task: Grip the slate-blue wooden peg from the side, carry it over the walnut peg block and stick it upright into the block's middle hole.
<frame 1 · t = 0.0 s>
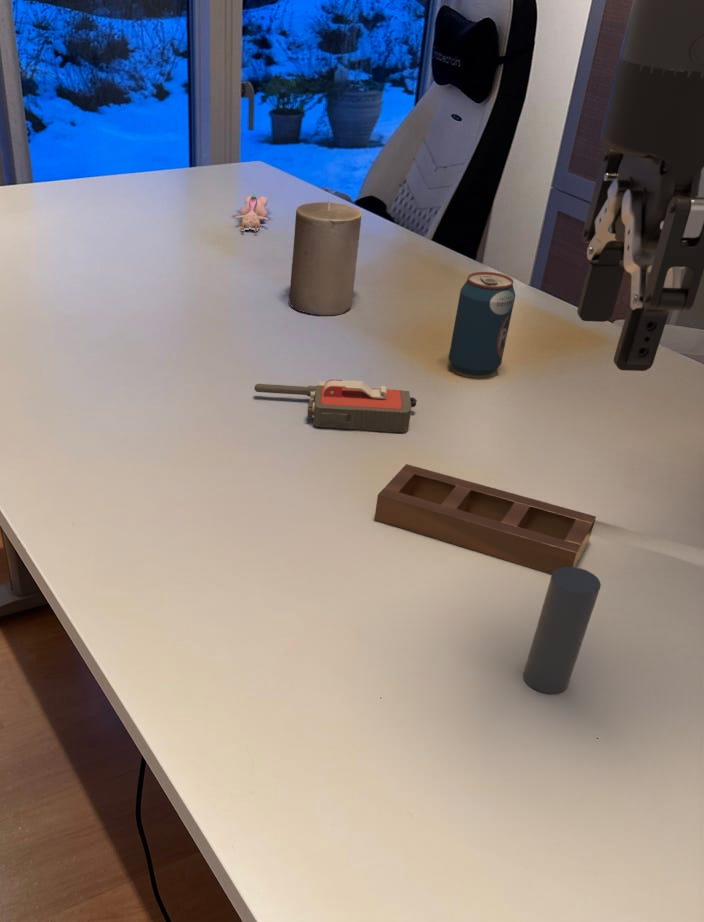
hand: (610, 342, 63), 28 cm above the table, tool pointing down, fingers open, 8 cm apart
pillar candle: (320, 306, 147), on the table
peg: (545, 679, 79), on the table
walkie-talkie: (333, 415, 117), on the table
rabbit figure: (253, 225, 181), on the table
peg block: (480, 531, 96), on the table
soda can: (472, 370, 129), on the table
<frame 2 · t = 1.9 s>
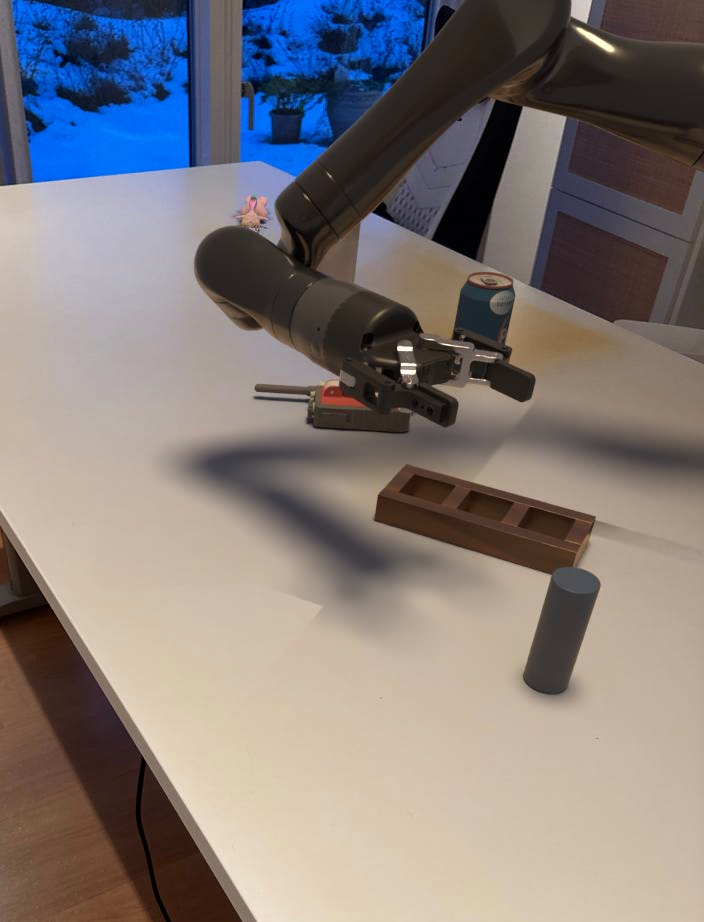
hand: (493, 402, 73), 20 cm above the table, tool horizontal, fingers open, 8 cm apart
nothing on the table moved.
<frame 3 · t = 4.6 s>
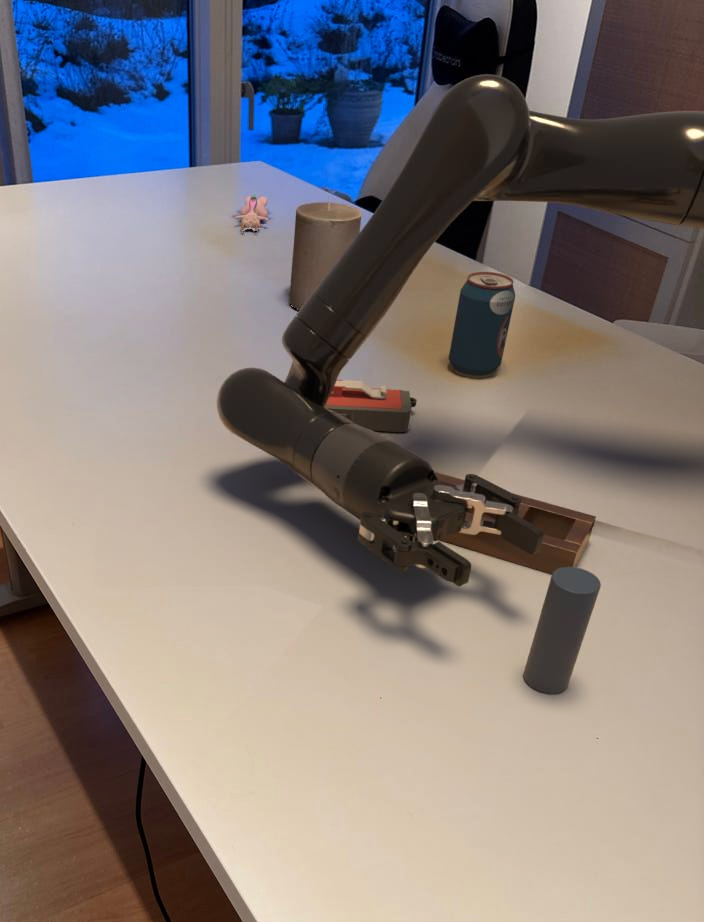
hand: (504, 559, 78), 8 cm above the table, tool horizontal, fingers open, 8 cm apart
nothing on the table moved.
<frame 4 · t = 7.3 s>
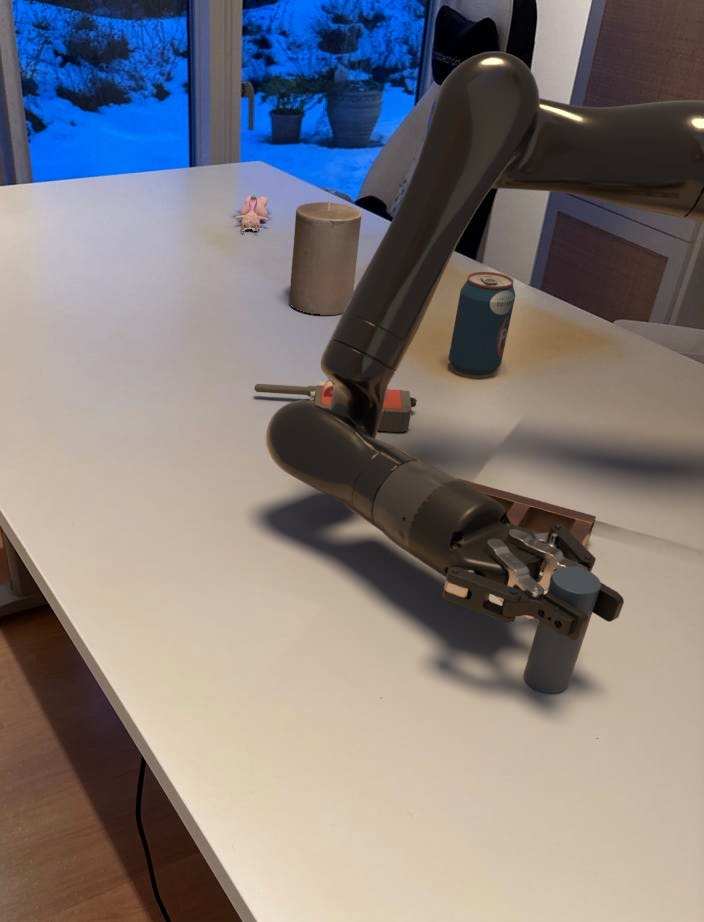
hand: (600, 619, 72), 8 cm above the table, tool horizontal, fingers closed on peg, 3 cm apart
peg: (545, 679, 79), on the table, touching gripper
everything else where it was.
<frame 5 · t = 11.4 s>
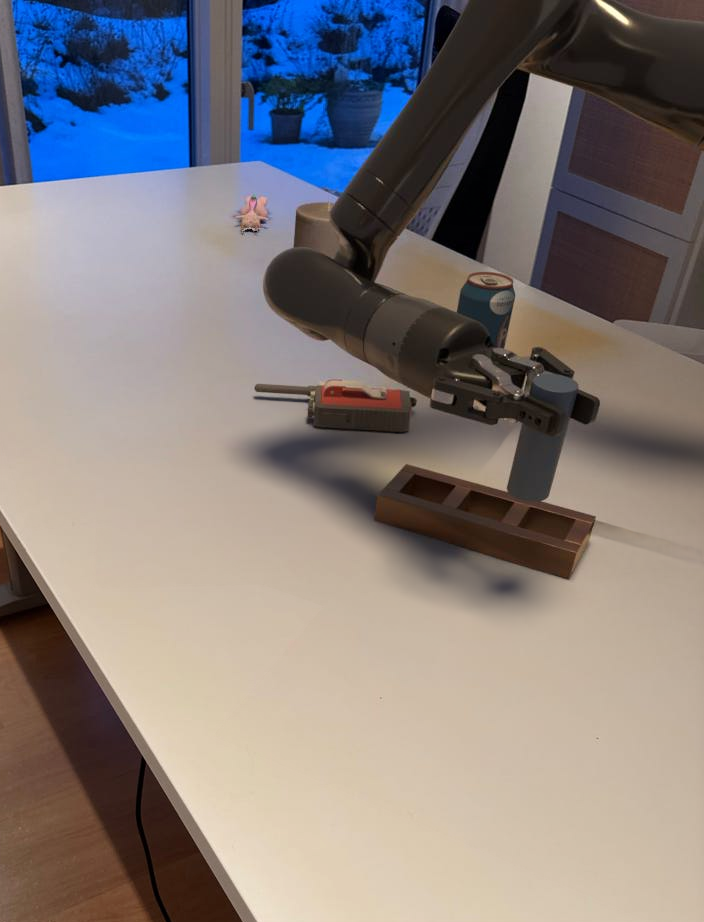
hand: (577, 418, 76), 18 cm above the table, tool horizontal, fingers closed on peg, 3 cm apart
peg: (527, 491, 83), point 10 cm above the table, touching gripper
everything else where it was.
when the fingers open (8 cm above the table, at t = 15.8 s): peg stays where it is, resting in peg block.
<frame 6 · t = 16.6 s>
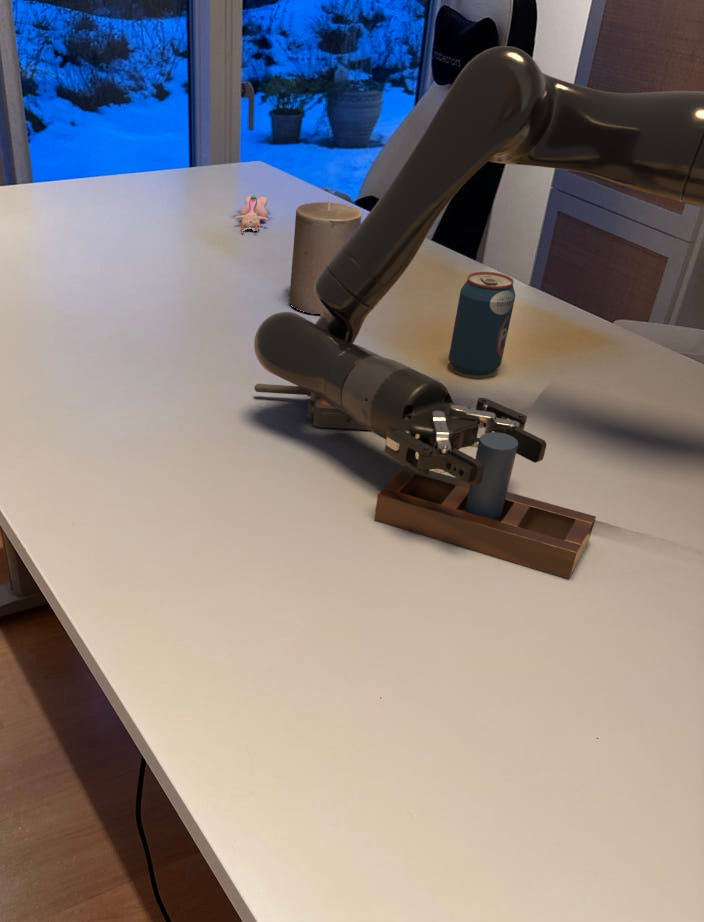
hand: (512, 464, 90), 8 cm above the table, tool horizontal, fingers open, 8 cm apart
peg: (478, 530, 96), resting in peg block
everything else where it was.
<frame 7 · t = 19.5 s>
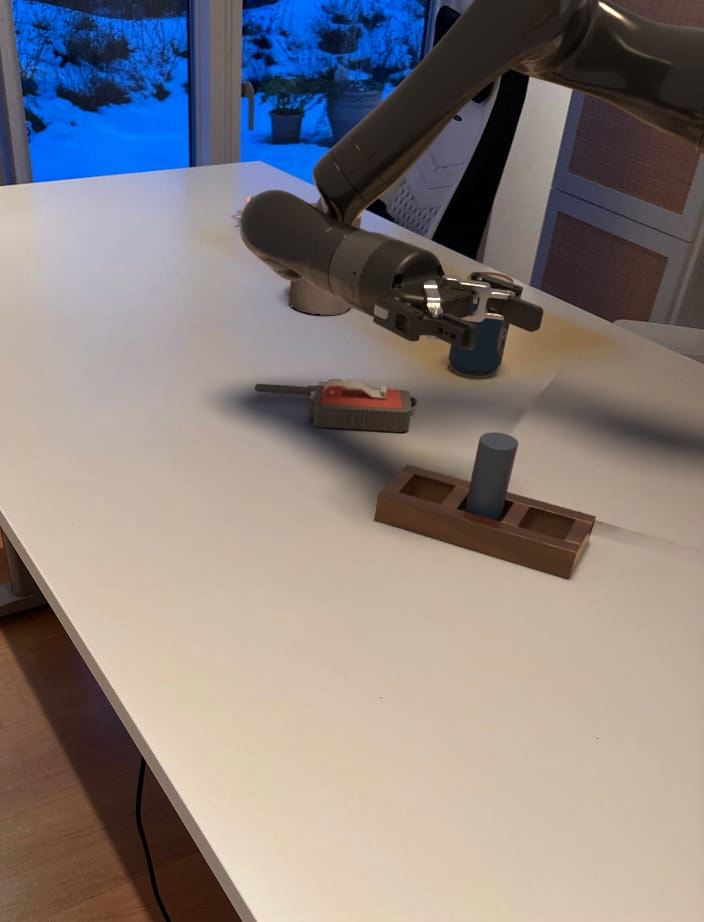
hand: (507, 329, 85), 20 cm above the table, tool horizontal, fingers open, 8 cm apart
nothing on the table moved.
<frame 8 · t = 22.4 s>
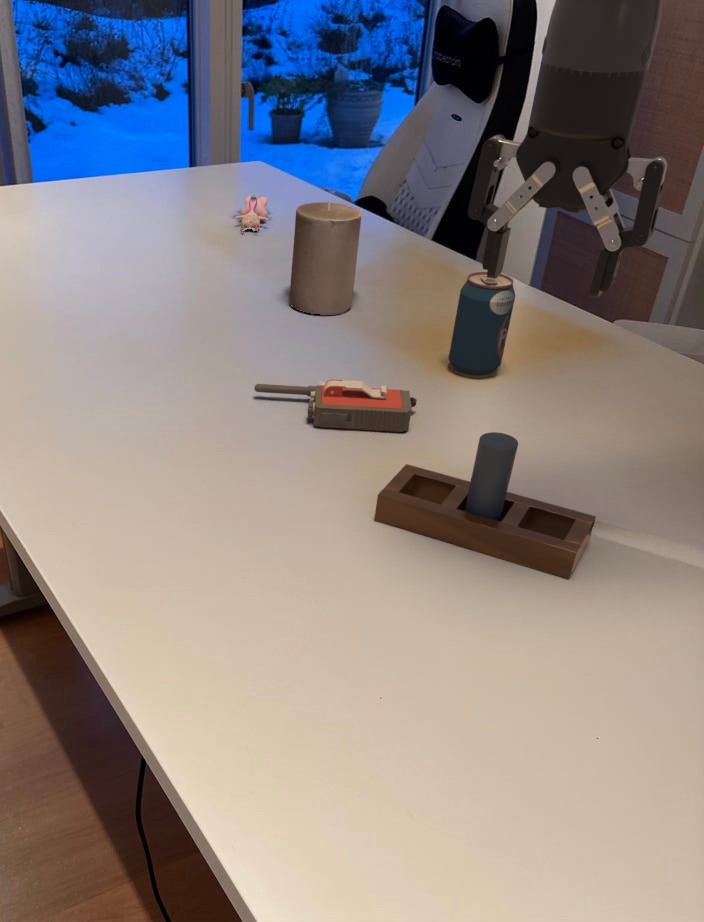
hand: (543, 285, 79), 25 cm above the table, tool pointing down, fingers open, 8 cm apart
nothing on the table moved.
at the end: peg 0.1 cm off-centre in the peg block, point 0.0 cm above the peg block's base; peg tilted 0° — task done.
